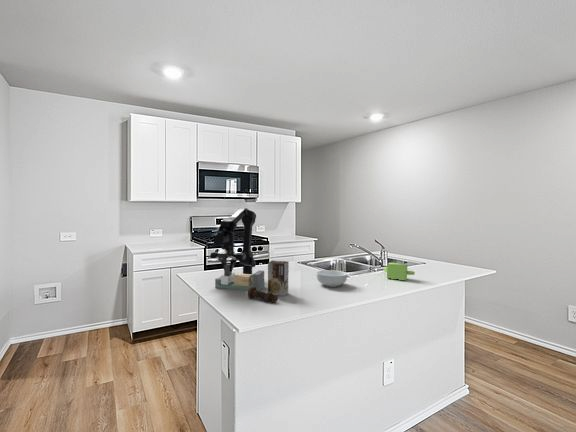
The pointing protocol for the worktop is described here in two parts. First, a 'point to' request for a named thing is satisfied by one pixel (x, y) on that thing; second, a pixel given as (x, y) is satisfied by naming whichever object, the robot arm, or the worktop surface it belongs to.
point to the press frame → (257, 282)
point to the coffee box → (278, 277)
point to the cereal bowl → (331, 277)
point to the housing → (243, 279)
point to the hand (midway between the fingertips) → (228, 271)
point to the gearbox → (397, 271)
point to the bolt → (262, 295)
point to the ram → (227, 275)
